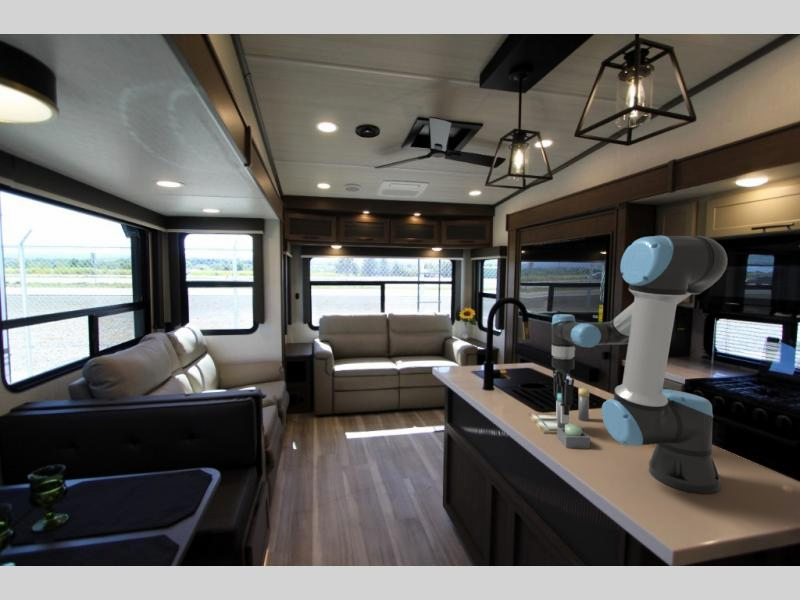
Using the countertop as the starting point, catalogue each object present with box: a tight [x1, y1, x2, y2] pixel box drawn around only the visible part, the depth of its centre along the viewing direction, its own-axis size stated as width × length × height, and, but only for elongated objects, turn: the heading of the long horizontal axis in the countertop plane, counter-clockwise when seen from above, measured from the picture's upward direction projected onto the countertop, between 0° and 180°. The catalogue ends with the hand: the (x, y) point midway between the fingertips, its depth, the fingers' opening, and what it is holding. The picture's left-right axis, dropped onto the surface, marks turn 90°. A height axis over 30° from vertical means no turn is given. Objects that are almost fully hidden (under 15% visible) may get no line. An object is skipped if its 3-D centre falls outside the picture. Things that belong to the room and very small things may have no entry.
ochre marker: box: [577, 387, 590, 422], centre depth 140 cm, size 4×4×12 cm
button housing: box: [556, 428, 591, 449], centre depth 119 cm, size 8×8×4 cm
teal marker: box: [556, 393, 568, 428], centre depth 130 cm, size 4×4×12 cm
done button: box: [565, 423, 583, 436], centre depth 119 cm, size 5×5×4 cm
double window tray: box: [528, 412, 573, 435], centre depth 136 cm, size 18×13×1 cm
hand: (562, 420), depth 130 cm, fingers closed on teal marker, 3 cm apart
